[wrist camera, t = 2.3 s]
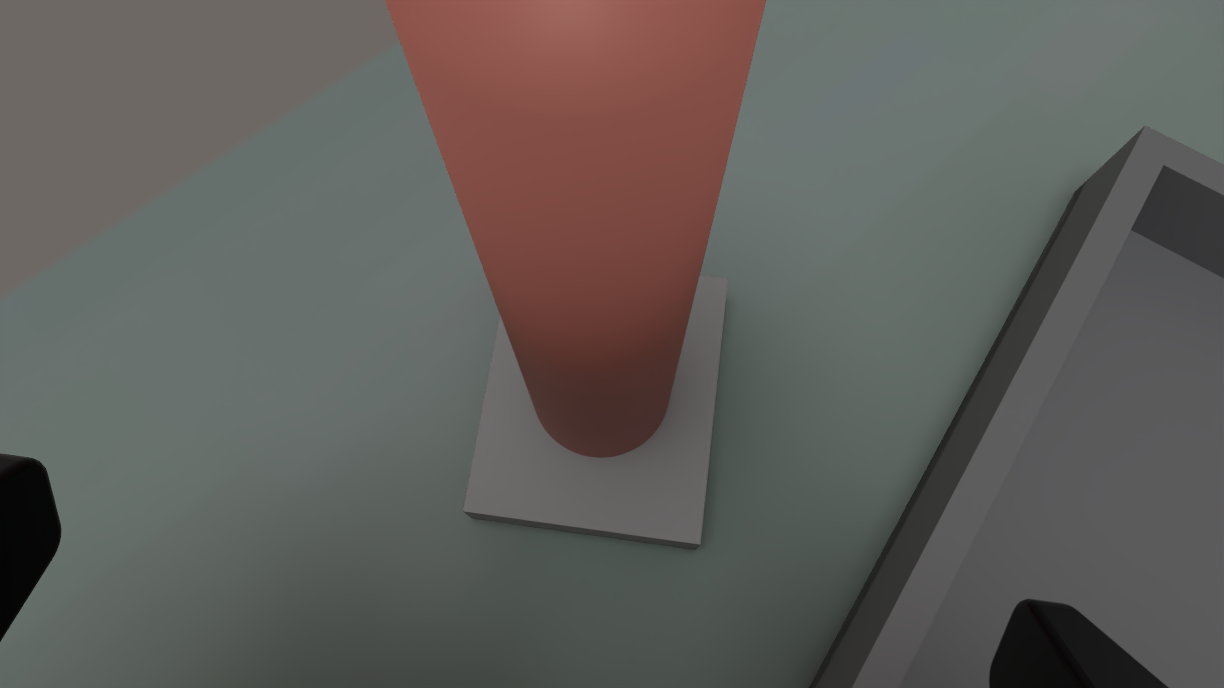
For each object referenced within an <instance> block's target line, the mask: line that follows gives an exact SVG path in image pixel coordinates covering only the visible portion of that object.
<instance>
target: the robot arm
mask: <svg viewBox="0 0 1224 688" xmlns="http://www.w3.org/2000/svg"><path fill="white" fill-rule="evenodd" d="M60 539H61V524H60V520H59V516H58V512H57V508H56V504H55V500H54V496H53V492H52V488H51V484H50V480H49V477H48V473H47V470H46V468H45V467H44V466H43V465H42V463H41V462H40V461H38V460H36V459H33V458H29V457H22V456H15V455H8V454H0V641H1V640H2V638H3V637H4V635H5V633H6V632H7V630H8V629H9V627H10V625H11V624H12V622H13V621H14V619H15V618H16V616H17V614H18V613H19V611H20V610H21V608H22V606H23V605H24V603H25V602H26V600H27V598H28V597H29V595H30V594H31V592H32V591H33V589H34V587H35V586H36V584H37V583H38V581H39V579H40V578H41V576H42V575H43V573H44V571H45V570H46V568H47V567H48V565H49V564H50V562H51V560H52V559H53V557H54V555H55V553H56V551H57V549H58V546H59V543H60ZM989 688H1169V687H1167V686H1166V685H1165V684H1164V683H1163V682H1162V681H1160V680H1159V679H1158V678H1157V677H1156V676H1154V675H1153V674H1152V673H1151V672H1150V671H1149V670H1147V669H1146V668H1145V667H1144V666H1143V665H1142V664H1140V663H1139V662H1138V661H1137V660H1136V659H1134V658H1133V657H1132V656H1131V655H1130V654H1129V653H1127V652H1126V651H1125V650H1124V649H1123V648H1122V647H1120V646H1119V645H1118V644H1117V643H1116V642H1114V641H1113V640H1112V639H1111V638H1110V637H1109V636H1107V635H1106V634H1105V633H1104V632H1103V631H1102V630H1100V629H1099V628H1098V627H1097V626H1096V625H1094V624H1093V623H1092V622H1091V621H1090V620H1089V619H1087V618H1086V617H1085V616H1084V615H1083V614H1082V613H1080V612H1079V611H1078V610H1076V609H1075V608H1074V607H1072V606H1070V605H1067V604H1064V603H1057V602H1050V601H1043V600H1036V599H1025V600H1022V601H1020V602H1019V603H1018V604H1017V605H1016V607H1015V608H1014V610H1013V612H1012V614H1011V617H1010V619H1009V622H1008V624H1007V626H1006V629H1005V631H1004V634H1003V636H1002V638H1001V641H1000V643H999V646H998V648H997V650H996V653H995V655H994V658H993V660H992V663H991V667H990V673H989Z"/></svg>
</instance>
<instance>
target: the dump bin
mask: <svg viewBox="0 0 1224 688" xmlns="http://www.w3.org/2000/svg"><path fill="white" fill-rule="evenodd" d="M1025 599H1036V600H1043V601H1050V602H1057V603H1064V604H1067V605H1070V606H1072V607H1074V608H1075V609H1076V610H1078V611H1079V612H1080V613H1082V614H1083V615H1084V616H1085V617H1086V618H1087V619H1089V620H1090V621H1091V622H1092V623H1093V624H1094V625H1096V626H1097V627H1098V628H1099V629H1100V630H1102V631H1103V632H1104V633H1105V634H1106V635H1107V636H1109V637H1110V638H1111V639H1112V640H1113V641H1114V642H1116V643H1117V644H1118V645H1119V646H1120V647H1122V648H1123V649H1124V650H1125V651H1126V652H1127V653H1129V654H1130V655H1131V656H1132V657H1133V658H1134V659H1136V660H1137V661H1138V662H1139V663H1140V664H1142V665H1143V666H1144V667H1145V668H1146V669H1147V670H1149V671H1150V672H1151V673H1152V674H1153V675H1154V676H1156V677H1157V678H1158V679H1159V680H1160V681H1162V682H1163V683H1164V684H1165V685H1166V686H1167V687H1169V688H1224V165H1223V164H1221V163H1219V162H1217V161H1215V160H1213V159H1211V158H1209V157H1207V156H1205V155H1203V154H1201V153H1199V152H1197V151H1195V150H1193V149H1191V148H1189V147H1187V146H1185V145H1183V144H1181V143H1179V142H1177V141H1175V140H1173V139H1171V138H1169V137H1167V136H1165V135H1163V134H1161V133H1159V132H1157V131H1155V130H1153V129H1151V128H1149V127H1147V126H1144V127H1143V128H1142V129H1141V130H1140V131H1139V132H1138V133H1137V134H1136V135H1135V136H1134V137H1133V138H1131V139H1130V140H1129V141H1128V142H1127V143H1126V144H1125V145H1124V146H1123V147H1122V148H1121V149H1120V150H1119V151H1118V152H1117V153H1116V154H1115V155H1114V156H1112V157H1111V158H1110V159H1109V160H1108V161H1107V162H1106V163H1105V164H1104V165H1103V166H1102V167H1101V168H1100V169H1099V170H1098V171H1097V172H1096V173H1094V174H1093V175H1092V176H1091V177H1090V178H1089V179H1088V180H1087V181H1086V182H1085V183H1084V184H1083V185H1082V186H1081V187H1080V188H1079V189H1078V190H1076V191H1075V193H1074V195H1073V197H1072V199H1071V201H1070V203H1069V204H1068V206H1067V208H1066V210H1065V212H1064V214H1063V216H1062V218H1061V219H1060V221H1059V223H1058V225H1057V227H1056V229H1055V231H1054V232H1053V234H1052V236H1051V238H1050V240H1049V242H1048V244H1047V246H1046V247H1045V249H1044V251H1043V253H1042V255H1041V257H1040V259H1039V260H1038V262H1037V264H1036V266H1035V268H1034V270H1033V272H1032V273H1031V275H1030V277H1029V279H1028V281H1027V283H1026V285H1025V287H1024V288H1023V290H1022V292H1021V294H1020V296H1019V298H1018V300H1017V301H1016V303H1015V305H1014V307H1013V309H1012V311H1011V313H1010V315H1009V316H1008V318H1007V320H1006V322H1005V324H1004V326H1003V328H1002V329H1001V331H1000V333H999V335H998V337H997V339H996V341H995V342H994V344H993V346H992V348H991V350H990V352H989V354H988V356H987V357H986V359H985V361H984V363H983V365H982V367H981V369H980V370H979V372H978V374H977V376H976V378H975V380H974V382H973V384H972V385H971V387H970V389H969V391H968V393H967V395H966V397H965V398H964V400H963V402H962V404H961V406H960V408H959V410H958V412H957V413H956V415H955V417H954V419H953V421H952V423H951V425H950V426H949V428H948V430H947V432H946V434H945V436H944V438H943V439H942V441H941V443H940V445H939V447H938V449H937V451H936V453H935V454H934V456H933V458H932V460H931V462H930V464H929V466H928V467H927V469H926V471H925V473H924V475H923V477H922V479H921V481H920V482H919V484H918V486H917V488H916V490H915V492H914V494H913V495H912V497H911V499H910V501H909V503H908V505H907V507H906V509H905V510H904V512H903V514H902V516H901V518H900V520H899V522H898V523H897V525H896V527H895V529H894V531H893V533H892V535H891V536H890V538H889V540H888V542H887V544H886V546H885V548H884V550H883V551H882V553H881V555H880V557H879V559H878V561H877V563H876V564H875V566H874V568H873V570H872V572H871V574H870V576H869V578H868V579H867V581H866V583H865V585H864V587H863V589H862V591H861V592H860V594H859V596H858V598H857V600H856V602H855V604H854V606H853V607H852V609H851V611H850V613H849V615H848V617H847V619H846V620H845V622H844V624H843V626H842V628H841V630H840V632H839V633H838V635H837V637H836V639H835V641H834V643H833V645H832V647H831V648H830V650H829V652H828V654H827V656H826V658H825V660H824V661H823V663H822V665H821V667H820V669H819V671H818V673H817V675H816V676H815V678H814V680H813V682H812V684H811V686H810V688H989V673H990V667H991V663H992V660H993V658H994V655H995V653H996V650H997V648H998V646H999V643H1000V641H1001V638H1002V636H1003V634H1004V631H1005V629H1006V626H1007V624H1008V622H1009V619H1010V617H1011V614H1012V612H1013V610H1014V608H1015V607H1016V605H1017V604H1018V603H1019V602H1020V601H1022V600H1025Z"/></svg>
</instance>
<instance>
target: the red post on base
mask: <svg viewBox="0 0 1224 688" xmlns="http://www.w3.org/2000/svg"><path fill="white" fill-rule="evenodd" d="M765 2H766V0H386V4H387V7H388V10H389V13H390V15H391V18H392V21H393V23H394V26H395V29H396V32H397V34H398V37H399V40H400V43H401V45H402V48H403V51H404V53H405V56H406V59H407V62H408V64H409V67H410V70H411V73H412V75H413V78H414V81H415V84H416V86H417V89H418V92H419V94H420V97H421V100H422V103H423V105H424V108H425V111H426V114H427V116H428V119H429V122H430V124H431V127H432V130H433V133H434V135H435V138H436V141H437V144H438V146H439V149H440V152H441V154H442V157H443V160H444V163H445V165H446V168H447V171H448V174H449V176H450V179H451V182H452V185H453V187H454V190H455V193H456V195H457V198H458V201H459V204H460V206H461V209H462V212H463V215H464V217H465V220H466V223H467V225H468V228H469V231H470V234H471V236H472V239H473V242H474V245H475V247H476V250H477V253H478V255H479V258H480V261H481V264H482V266H483V269H484V272H485V275H486V277H487V280H488V283H489V285H490V288H491V291H492V294H493V296H494V299H495V302H496V305H497V307H498V310H499V313H500V317H499V323H498V328H497V333H496V338H495V344H494V349H493V354H492V359H491V365H490V370H489V375H488V381H487V386H486V391H485V396H484V402H483V407H482V412H481V417H480V423H479V428H478V433H477V439H476V444H475V449H474V454H473V460H472V465H471V470H470V475H469V481H468V486H467V491H466V497H465V502H464V507H463V512H464V513H466V514H467V515H468V516H470V517H471V518H475V519H482V520H489V521H496V522H503V523H511V524H518V525H525V526H532V527H539V528H546V529H553V530H560V531H567V532H575V533H582V534H589V535H596V536H603V537H610V538H617V539H624V540H631V541H638V542H646V543H653V544H660V545H667V546H674V547H681V548H688V549H696V548H697V547H698V546H699V545H700V544H701V534H702V525H703V515H704V505H705V496H706V486H707V477H708V467H709V457H710V448H711V438H712V429H713V419H714V409H715V400H716V390H717V381H718V371H719V361H720V352H721V342H722V333H723V323H724V313H725V304H726V294H727V285H728V278H724V277H716V276H708V275H700V271H701V267H702V263H703V259H704V255H705V251H706V247H707V242H708V238H709V234H710V230H711V226H712V222H713V218H714V213H715V209H716V205H717V201H718V197H719V193H720V189H721V184H722V180H723V176H724V172H725V168H726V164H727V160H728V156H729V151H730V147H731V143H732V139H733V135H734V131H735V127H736V122H737V118H738V114H739V110H740V106H741V102H742V98H743V93H744V89H745V85H746V81H747V77H748V73H749V69H750V65H751V60H752V56H753V52H754V48H755V44H756V40H757V36H758V31H759V27H760V23H761V19H762V15H763V11H764V7H765Z"/></svg>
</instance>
